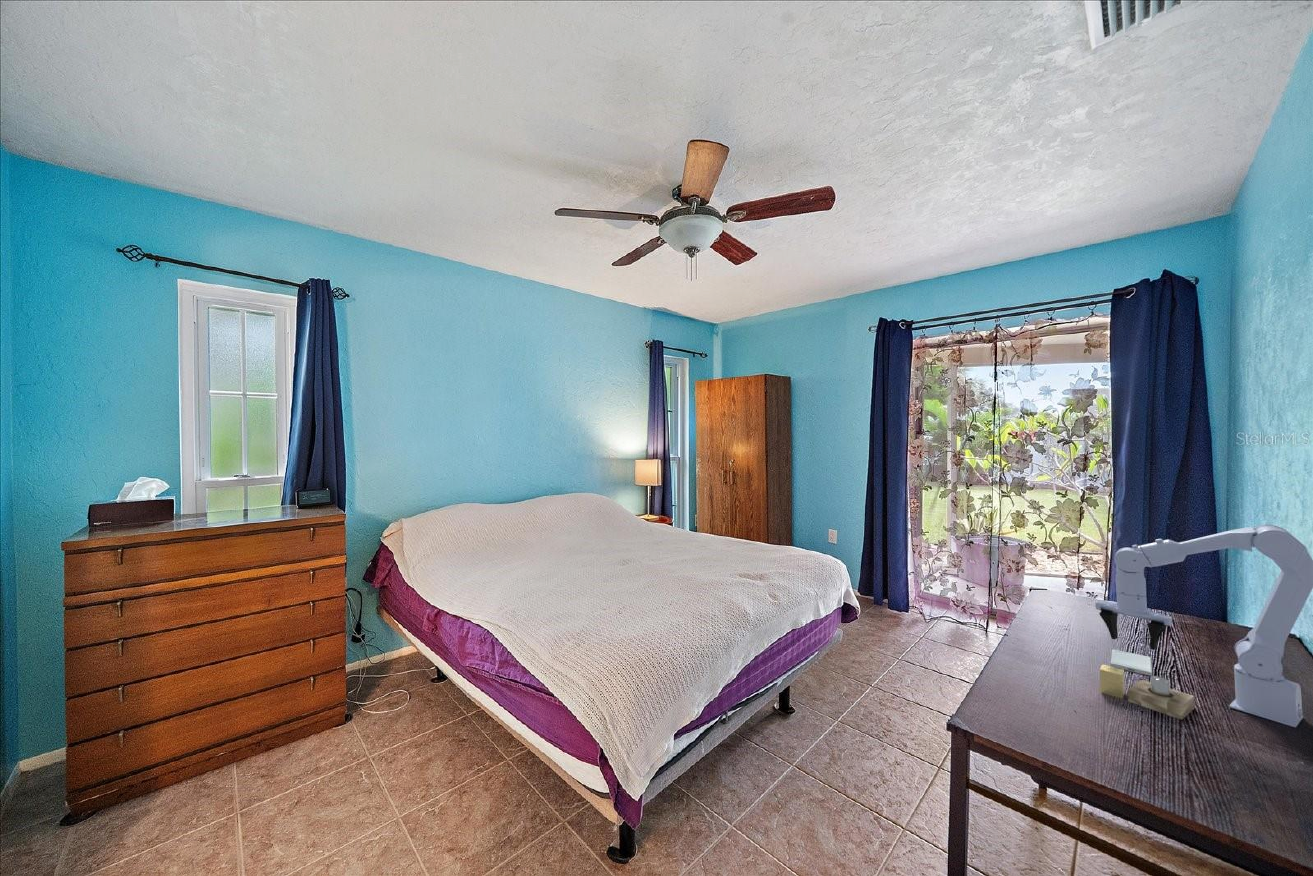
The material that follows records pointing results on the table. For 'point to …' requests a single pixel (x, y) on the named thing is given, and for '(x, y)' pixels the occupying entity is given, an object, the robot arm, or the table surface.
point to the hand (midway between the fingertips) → (1133, 643)
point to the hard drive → (1131, 662)
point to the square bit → (1112, 681)
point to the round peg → (1160, 686)
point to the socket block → (1161, 700)
